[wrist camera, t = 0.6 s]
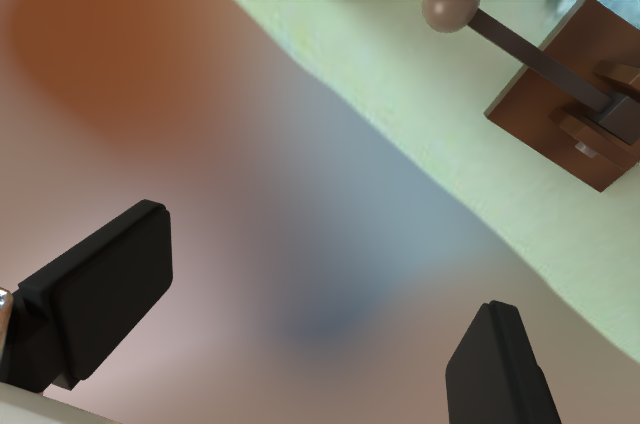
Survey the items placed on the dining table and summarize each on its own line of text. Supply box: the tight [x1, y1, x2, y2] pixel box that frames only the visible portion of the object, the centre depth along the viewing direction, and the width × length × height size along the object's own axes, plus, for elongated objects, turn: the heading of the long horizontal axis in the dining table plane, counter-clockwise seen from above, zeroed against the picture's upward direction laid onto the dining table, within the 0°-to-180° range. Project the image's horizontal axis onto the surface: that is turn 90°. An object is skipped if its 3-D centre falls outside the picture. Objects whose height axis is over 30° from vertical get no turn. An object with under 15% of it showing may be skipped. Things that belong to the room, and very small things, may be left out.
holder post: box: [422, 0, 640, 146], centre depth 24 cm, size 17×4×4 cm, turn 61°
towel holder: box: [483, 0, 640, 193], centre depth 26 cm, size 12×10×7 cm
